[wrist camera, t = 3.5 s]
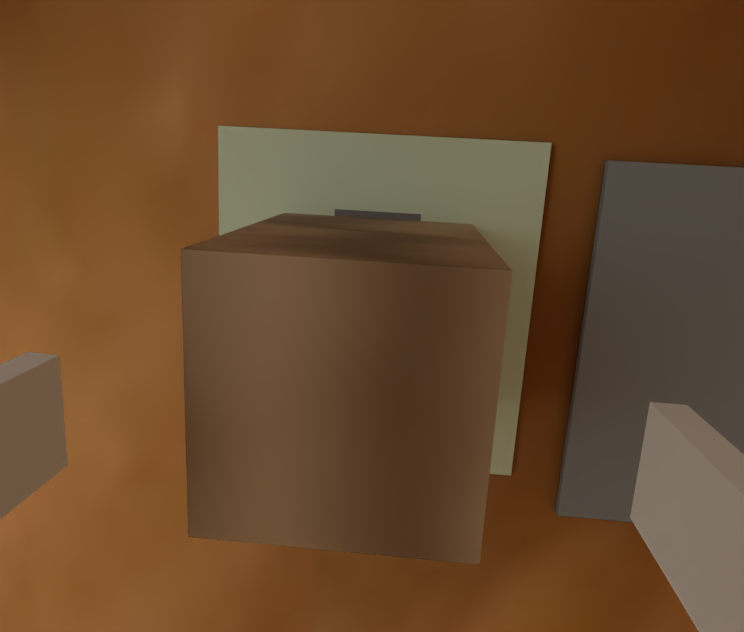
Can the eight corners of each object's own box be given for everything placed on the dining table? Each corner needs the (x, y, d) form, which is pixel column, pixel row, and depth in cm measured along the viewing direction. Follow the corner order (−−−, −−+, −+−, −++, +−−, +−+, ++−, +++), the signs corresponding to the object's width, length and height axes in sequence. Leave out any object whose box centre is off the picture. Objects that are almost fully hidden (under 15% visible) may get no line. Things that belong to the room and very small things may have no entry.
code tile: (222, 448, 25) (221, 450, 25) (219, 126, 22) (217, 125, 22) (510, 472, 25) (511, 476, 24) (550, 142, 21) (551, 142, 21)
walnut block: (281, 388, 24) (188, 536, 15) (284, 212, 22) (180, 249, 13) (455, 402, 24) (479, 564, 14) (472, 224, 22) (512, 270, 12)
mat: (555, 510, 25) (557, 515, 24) (605, 160, 21) (609, 160, 21) (859, 537, 24) (866, 543, 24) (963, 179, 21) (973, 179, 20)
